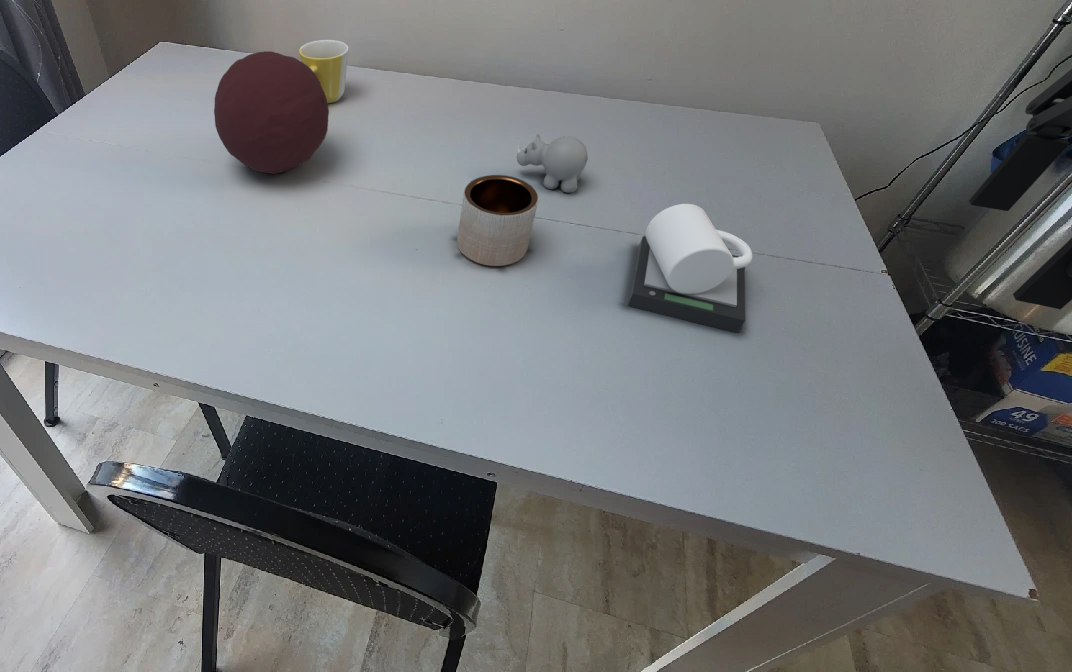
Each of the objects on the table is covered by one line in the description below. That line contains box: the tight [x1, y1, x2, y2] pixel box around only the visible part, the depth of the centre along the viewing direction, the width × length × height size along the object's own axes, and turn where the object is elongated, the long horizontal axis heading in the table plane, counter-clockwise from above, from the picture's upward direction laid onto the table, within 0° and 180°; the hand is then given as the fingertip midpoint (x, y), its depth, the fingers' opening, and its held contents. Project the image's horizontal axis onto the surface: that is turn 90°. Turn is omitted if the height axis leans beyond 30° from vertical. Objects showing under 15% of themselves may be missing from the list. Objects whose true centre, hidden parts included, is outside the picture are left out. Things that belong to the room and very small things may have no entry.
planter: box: [456, 174, 539, 267], centre depth 90 cm, size 11×11×10 cm
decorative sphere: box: [213, 50, 330, 175], centre depth 105 cm, size 20×20×20 cm
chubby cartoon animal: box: [516, 133, 589, 194], centre depth 103 cm, size 7×12×8 cm, turn 61°
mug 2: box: [645, 203, 753, 294], centre depth 81 cm, size 12×10×8 cm
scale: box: [627, 235, 746, 334], centre depth 85 cm, size 14×14×3 cm
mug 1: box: [298, 39, 350, 104], centre depth 126 cm, size 14×10×10 cm
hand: (1009, 250), depth 49 cm, fingers open, 13 cm apart
